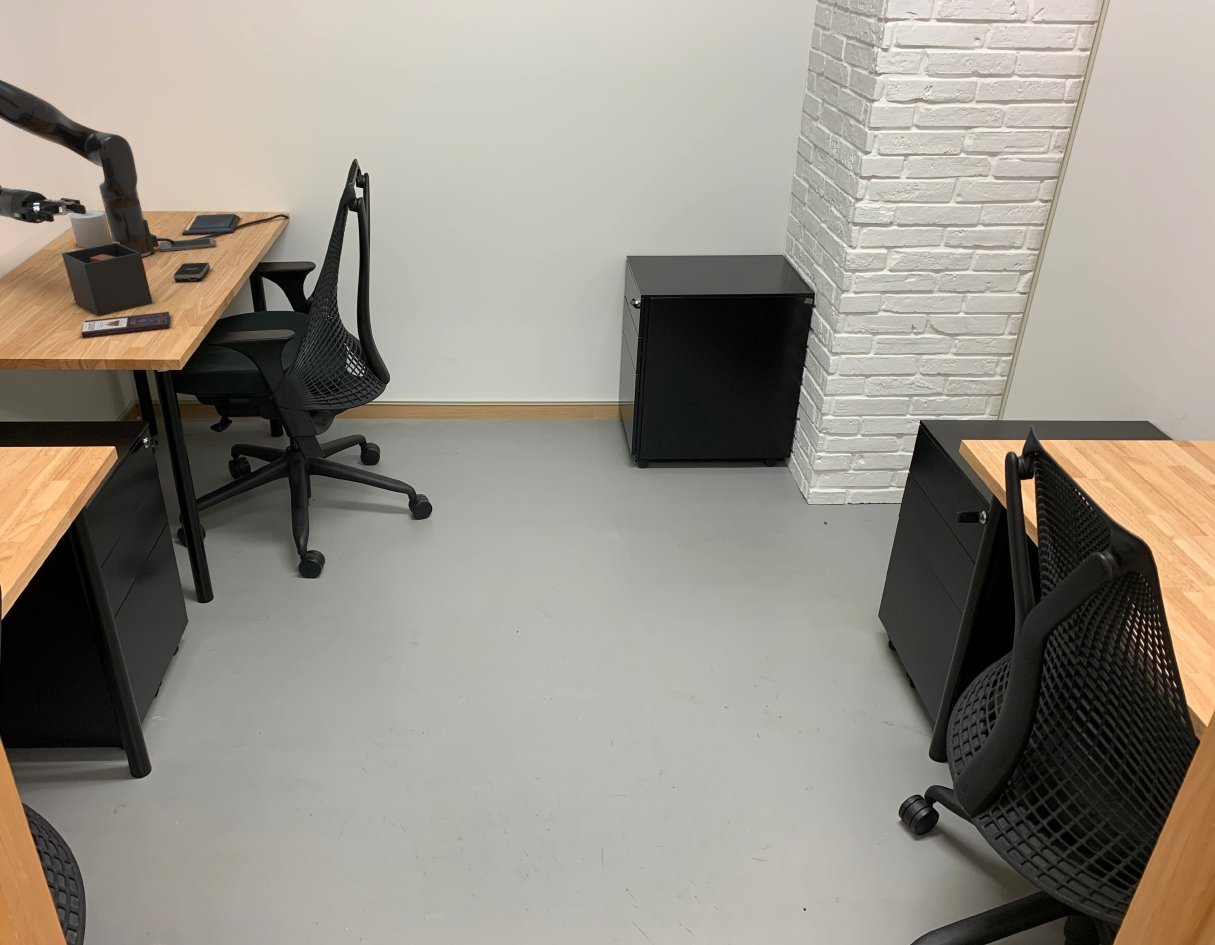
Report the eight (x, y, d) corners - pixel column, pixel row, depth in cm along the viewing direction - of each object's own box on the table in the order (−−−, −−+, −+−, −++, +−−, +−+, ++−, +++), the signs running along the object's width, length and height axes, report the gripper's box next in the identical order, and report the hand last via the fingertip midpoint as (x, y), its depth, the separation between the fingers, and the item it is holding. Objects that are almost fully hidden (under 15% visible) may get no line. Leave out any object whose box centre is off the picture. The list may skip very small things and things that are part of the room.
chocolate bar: (168, 324, 214) (81, 333, 208) (169, 327, 214) (82, 337, 208) (168, 311, 221) (84, 320, 215) (169, 315, 221) (85, 324, 215)
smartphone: (214, 239, 280) (213, 237, 280) (215, 246, 273) (215, 244, 273) (160, 244, 275) (159, 242, 274) (160, 251, 268) (160, 249, 268)
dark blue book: (231, 227, 286) (179, 229, 283) (232, 233, 286) (180, 235, 284) (240, 212, 303) (191, 213, 300) (242, 217, 304) (193, 219, 301)
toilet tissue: (106, 235, 283) (98, 206, 279) (114, 245, 274) (107, 216, 270) (73, 239, 279) (65, 210, 275) (80, 249, 269) (72, 220, 265)
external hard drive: (174, 282, 244) (172, 275, 243) (184, 270, 253) (182, 263, 252) (202, 281, 245) (200, 274, 244) (211, 269, 254) (209, 262, 253)
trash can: (129, 291, 237) (117, 242, 231) (152, 303, 229) (140, 253, 223) (75, 303, 228) (61, 253, 222) (98, 316, 221) (84, 264, 215)
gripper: (54, 215, 236) (98, 222, 230) (1, 227, 225) (45, 236, 218) (46, 184, 232) (90, 192, 226) (-9, 196, 221) (36, 203, 215)
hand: (68, 213), depth 222 cm, fingers open, 8 cm apart
